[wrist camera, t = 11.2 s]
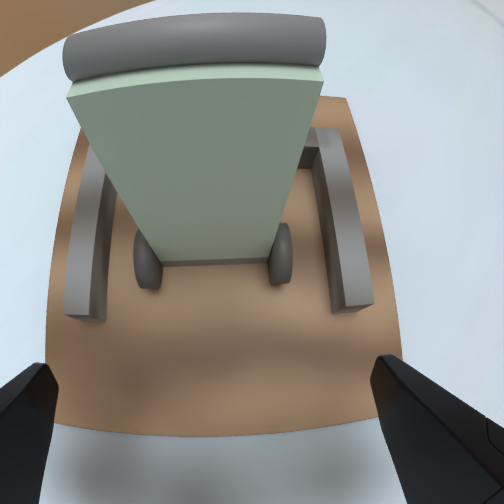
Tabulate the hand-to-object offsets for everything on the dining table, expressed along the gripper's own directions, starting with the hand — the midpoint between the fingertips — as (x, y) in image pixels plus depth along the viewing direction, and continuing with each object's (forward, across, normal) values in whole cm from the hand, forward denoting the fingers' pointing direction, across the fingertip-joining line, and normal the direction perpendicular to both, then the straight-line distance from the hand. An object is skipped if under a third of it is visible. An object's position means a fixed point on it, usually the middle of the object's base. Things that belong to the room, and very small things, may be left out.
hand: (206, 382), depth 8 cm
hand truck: (+10, 0, +1) cm, 11 cm away
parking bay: (+11, 0, +1) cm, 11 cm away
